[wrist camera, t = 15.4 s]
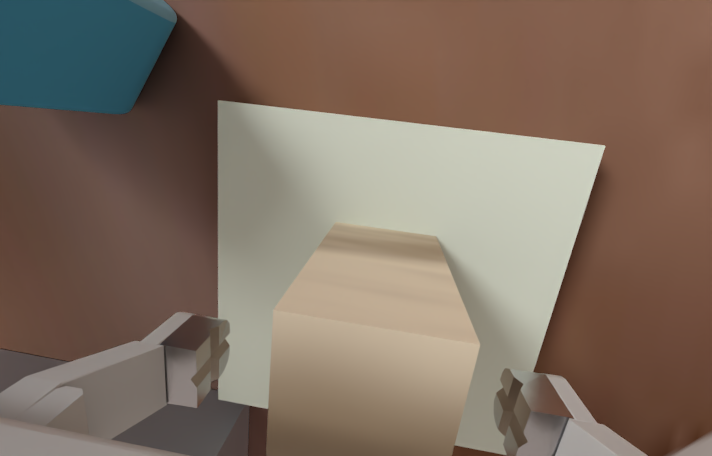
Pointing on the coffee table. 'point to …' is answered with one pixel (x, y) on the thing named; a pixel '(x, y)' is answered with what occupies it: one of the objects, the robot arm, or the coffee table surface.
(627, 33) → the coffee table surface
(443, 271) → the birch box
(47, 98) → the data package
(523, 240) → the board
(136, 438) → the bin
